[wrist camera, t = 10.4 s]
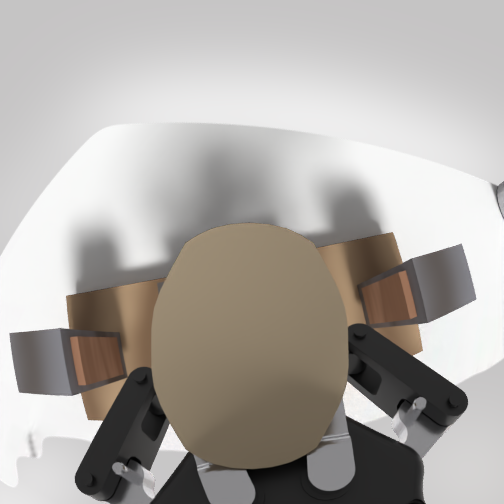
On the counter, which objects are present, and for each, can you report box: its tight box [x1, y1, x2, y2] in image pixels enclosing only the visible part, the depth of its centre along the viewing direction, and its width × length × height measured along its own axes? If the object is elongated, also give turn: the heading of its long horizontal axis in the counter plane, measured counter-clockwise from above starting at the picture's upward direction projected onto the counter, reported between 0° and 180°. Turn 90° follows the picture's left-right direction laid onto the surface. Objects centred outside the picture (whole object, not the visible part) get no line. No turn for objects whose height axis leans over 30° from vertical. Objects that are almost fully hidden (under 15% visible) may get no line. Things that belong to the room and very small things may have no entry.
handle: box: [151, 223, 349, 469], centre depth 14 cm, size 5×6×15 cm
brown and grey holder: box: [10, 232, 476, 421], centre depth 19 cm, size 32×12×11 cm, turn 102°
